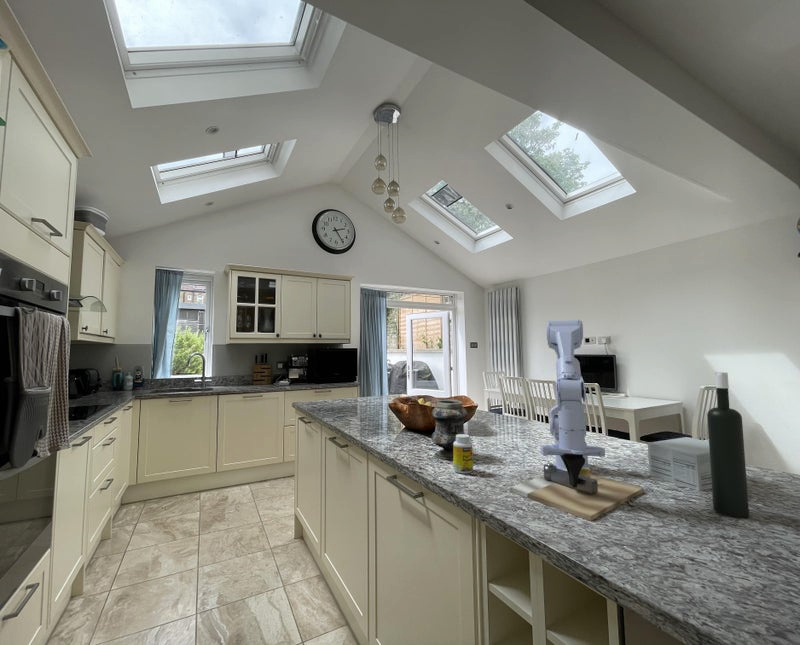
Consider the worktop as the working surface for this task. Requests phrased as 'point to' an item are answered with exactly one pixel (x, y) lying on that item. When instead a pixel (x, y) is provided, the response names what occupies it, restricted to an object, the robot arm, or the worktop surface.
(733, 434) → the wine bottle
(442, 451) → the dark grey vase
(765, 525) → the worktop surface
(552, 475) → the swing bar
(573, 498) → the door board
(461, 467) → the supplement bottle
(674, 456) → the supplement box
